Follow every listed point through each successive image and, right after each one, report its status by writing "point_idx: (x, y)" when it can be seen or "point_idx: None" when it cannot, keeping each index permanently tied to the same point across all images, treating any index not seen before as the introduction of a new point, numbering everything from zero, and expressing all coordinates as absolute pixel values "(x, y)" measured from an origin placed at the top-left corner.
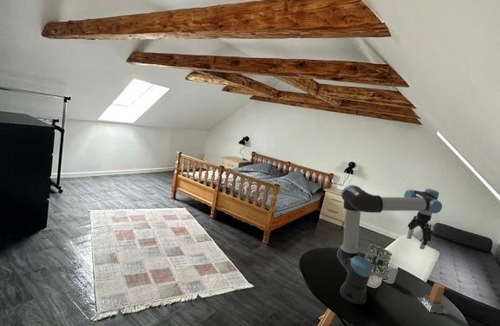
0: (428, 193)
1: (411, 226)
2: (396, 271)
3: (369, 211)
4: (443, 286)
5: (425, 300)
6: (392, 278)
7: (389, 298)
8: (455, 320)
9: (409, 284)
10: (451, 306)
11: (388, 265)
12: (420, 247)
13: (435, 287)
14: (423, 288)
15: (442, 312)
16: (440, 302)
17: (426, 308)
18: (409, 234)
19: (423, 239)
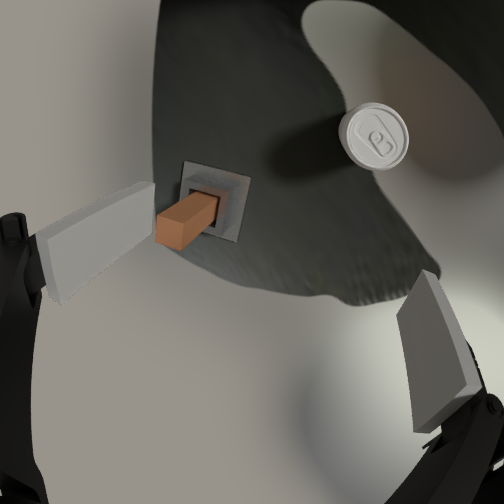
0: None
1: (474, 457)
2: (341, 137)
3: None
4: (162, 243)
5: (220, 184)
6: (340, 125)
7: (254, 48)
8: None
9: (331, 225)
10: (212, 273)
11: (380, 113)
12: (129, 186)
13: (178, 214)
14: (302, 264)
15: None
16: None
17: (200, 163)
18: (432, 323)
19: (10, 214)
